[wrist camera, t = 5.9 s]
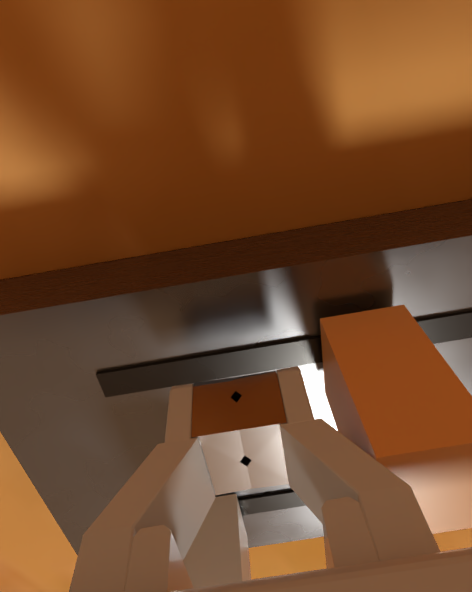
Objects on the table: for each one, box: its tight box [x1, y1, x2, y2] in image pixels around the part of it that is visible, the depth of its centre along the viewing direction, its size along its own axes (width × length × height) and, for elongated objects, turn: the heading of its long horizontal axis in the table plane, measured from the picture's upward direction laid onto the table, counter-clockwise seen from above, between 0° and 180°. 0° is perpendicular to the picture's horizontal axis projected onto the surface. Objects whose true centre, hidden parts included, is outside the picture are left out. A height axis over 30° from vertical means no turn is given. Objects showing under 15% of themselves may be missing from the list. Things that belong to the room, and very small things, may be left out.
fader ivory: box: [183, 494, 251, 588], centre depth 12 cm, size 2×2×4 cm
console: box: [0, 199, 472, 555], centre depth 14 cm, size 18×11×3 cm, turn 99°
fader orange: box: [320, 305, 472, 534], centre depth 9 cm, size 2×2×4 cm
